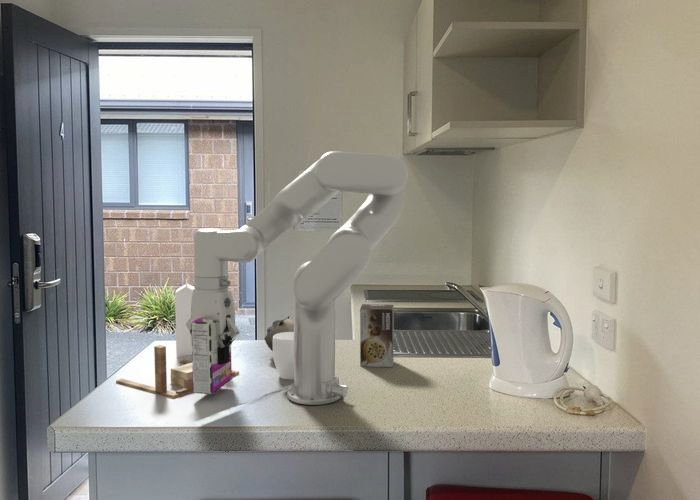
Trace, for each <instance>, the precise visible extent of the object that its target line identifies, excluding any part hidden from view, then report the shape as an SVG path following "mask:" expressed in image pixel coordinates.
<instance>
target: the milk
mask: <svg viewBox="0 0 700 500" xmlns="http://www.w3.org/2000/svg"><path fill="white" fill-rule="evenodd" d="M194 288H195V287H194V286H193V285H192V284H189V283H188V278H186V279H185V284H184V285H183V284H182V286H180V287H179V288H177V289H176V290H175V292H174V303H175V305H174V307H175V311H174V312H175V342H176V343H175V345H176V346H175V348H176V349H175V350H176V352H175V353H176V359H178V358H182V357H186V356H192V335H191V334H190V331H189V329H188V328H187V326H186V323H187V322H188V320H189V319H190V318H191V302H192V294H193V289H194Z"/></svg>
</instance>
